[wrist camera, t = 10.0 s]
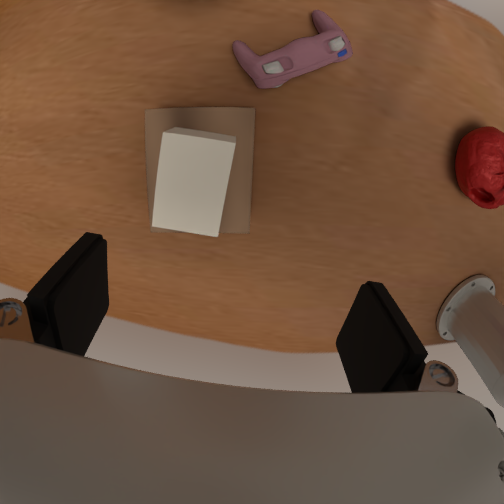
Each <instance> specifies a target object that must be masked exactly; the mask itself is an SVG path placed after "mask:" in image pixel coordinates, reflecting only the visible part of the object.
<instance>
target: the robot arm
mask: <svg viewBox="0 0 504 504" xmlns="http://www.w3.org/2000/svg"><path fill="white" fill-rule="evenodd" d="M27 296H28V297H27V298H26V299H25V300H24V302H22V301H20V300H18V299H14V298H6V299H2V300H0V504H504V432H503V431H502V430H501V429H500V428H498V427H497V425H496V420H495V418H494V414H493V412H492V411H491V410H490V409H488V408H486V407H484V406H483V405H482V404H481V403H480V402H479V401H477V400H475V399H473V398H471V397H469V396H466V395H465V394H463V393H461V392H460V391H458V390H457V389H458V378H457V376H456V374H455V372H454V371H453V370H452V369H451V368H450V367H449V366H448V365H446V364H445V363H442V362H440V361H436V360H433V361H429V362H428V363H427V364H426V363H425V362H424V360H425V358H426V357H427V355H428V353H427V351H426V349H425V348H424V346H423V344H422V343H421V341H420V340H419V338H418V336H417V335H416V333H415V332H414V330H413V328H412V327H411V325H410V324H409V322H408V321H407V319H406V318H405V316H404V315H403V313H402V311H401V310H400V308H399V307H398V305H397V304H396V302H395V301H394V299H393V298H392V297H391V295H390V294H389V292H388V291H387V289H386V288H385V286H384V285H383V284H382V283H378V282H372V281H367V282H366V283H365V284H362V285H361V287H360V289H359V291H358V294H357V296H356V298H355V300H354V303H353V305H352V307H351V309H350V311H349V314H348V316H347V318H346V320H345V322H344V324H343V326H342V328H341V330H340V332H339V335H338V337H337V340H336V347H337V350H338V353H339V355H340V358H341V361H342V364H343V367H344V370H345V373H346V376H347V379H348V382H349V385H350V388H351V391H352V393H333V392H304V391H286V390H272V389H261V388H250V387H240V386H232V385H224V384H216V383H209V382H202V381H196V380H190V379H183V378H177V377H171V376H166V375H161V374H155V373H151V372H146V371H141V370H137V369H132V368H128V367H123V366H119V365H115V364H111V363H107V362H103V361H99V360H95V359H92V358H88V357H84V355H85V353H86V351H87V349H88V347H89V345H90V343H91V341H92V339H93V337H94V335H95V333H96V331H97V330H98V328H99V326H100V324H101V322H102V320H103V318H104V316H105V314H106V313H107V310H108V307H109V294H108V272H107V241H106V240H105V239H103V237H102V235H100V234H95V233H89V232H86V233H85V234H84V235H83V236H82V237H81V238H80V239H79V240H78V241H77V242H76V243H75V244H74V245H73V246H72V247H71V248H70V249H69V250H68V251H67V252H66V253H65V254H64V255H63V256H62V257H61V258H60V259H59V260H58V261H57V262H56V263H55V264H54V265H53V266H52V267H51V268H50V270H49V271H48V272H47V273H46V274H45V275H44V276H43V277H42V278H41V279H40V280H39V282H38V283H37V284H36V285H35V286H34V287H33V288H32V289H31V291H30V292H29V293H28V294H27ZM436 326H437V331H438V333H439V334H440V336H441V337H442V338H443V339H445V340H456V342H457V343H458V345H459V346H460V347H461V349H462V350H463V352H464V353H465V354H466V356H467V357H468V359H469V360H470V362H471V363H472V365H473V366H474V368H475V369H476V371H477V372H478V374H479V375H480V377H481V378H482V380H483V382H484V383H485V384H486V386H487V388H488V389H489V391H490V393H491V394H492V396H493V397H494V399H495V400H496V402H497V403H498V404H499V405H500V406H502V407H504V306H503V305H502V304H501V303H500V302H499V300H498V299H497V298H496V297H495V285H494V283H493V281H492V280H491V279H490V278H489V277H487V276H485V275H476V276H473V277H470V278H468V279H466V280H465V281H464V282H462V283H461V284H460V285H458V286H457V287H456V288H455V289H454V290H453V291H452V293H451V294H450V295H449V296H448V298H447V299H446V300H445V302H444V304H443V305H442V307H441V309H440V311H439V314H438V317H437V323H436Z"/></svg>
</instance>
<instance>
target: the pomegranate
mask: <svg viewBox="0 0 504 504" xmlns="http://www.w3.org/2000/svg"><path fill="white" fill-rule="evenodd" d="M455 171H456V177H457V181H458V184H459V187H460V189H461V190H462V192H463V193H464V194H465V195H466V196H468V197H469V198H470V199H471V200H472V201H473V202H474V203H475V204H476V205H478V206H480V207H482V208H486V209H494V208H498V207H499V206H500V205H504V133H503V132H501V131H500V130H498V129H496V128H494V127H481V128H478V129H475V130H473V131H471V132H469V133H468V134H467V135H465V136H464V137H463V138H462V140H461V141H460V144H459V146H458V150H457V154H456V159H455Z"/></svg>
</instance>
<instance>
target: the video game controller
mask: <svg viewBox="0 0 504 504" xmlns="http://www.w3.org/2000/svg"><path fill="white" fill-rule="evenodd" d="M312 18H313V22H314V25H315V27H316V29H317V30H318V32H319V34H318V35H315V36H313V37H304V38H299V39H296V40H294V41H292V42H290V43H289V44H287V45H286V46H284V47H283V48H281V49H278V50H275V51H273V52H270V53H268V54H265V55H263V56H258V55H257V54H255V53H254V52H253V51H252V50H251V49H250V48H249V47H248V46H247V45H246V44H245V43H243V42H241V41H238V40H236V41H234V42H233V51H234V54H235V56H236V59H237V60H238V62H239V63H240V65H241V67H242V68H243V69H244V70H245V71H246V72H247V73H248V75H249V76H250V77H251V78H252V79H253V81H254V82H255V84H256V86H257V87H258V88H261V89H265V88H277V87H280V86H281V85H282V84H283V83H285V82H286V81H288V80H289V79H290V78H293V77H296V76H300V75H303V74H305V73H308V72H311V71H313V70H316V69H318V68H321V67H323V66H326V65H328V64H330V63H334V62H340V61H344V60H346V59H348V58H350V57H351V56H352V54H353V52H352V48H351V44H350V41H349V40H348V38H347V36H346V34H345V33H344V32H343V30H342V29H341V28H340V27H339V26H338V25H337V24H336V23H335V22H334V21H333V20H332V19H331V18H330V17H329V16H328V15H327V14H325V13H324V12H322V11H320V10H314V11H313V12H312Z"/></svg>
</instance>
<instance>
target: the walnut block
mask: <svg viewBox="0 0 504 504" xmlns="http://www.w3.org/2000/svg"><path fill="white" fill-rule="evenodd" d="M255 109H256V108H246V107H179V108H159V109H147V110H145V150H146V175H147V192H148V206H149V219H150V230H151V232H179V233H189V232H183V231H177V230H171V229H165V228H159V227H152V219H153V208H154V198H155V188H156V179H157V171H158V163H159V156H160V148H161V142H162V135H163V132H165V131H167V130H169V129H172V128H174V127H178V128H186V129H193V130H200V131H206V132H212V133H218V134H224V135H230V136H235V137H236V145H235V150H234V155H233V160H232V165H231V170H230V175H229V180H228V185H227V190H226V196H225V201H224V206H223V211H222V217H221V222H220V228H219V233H247V234H249V233H250V212H251V191H252V170H253V149H254V129H255Z"/></svg>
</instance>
